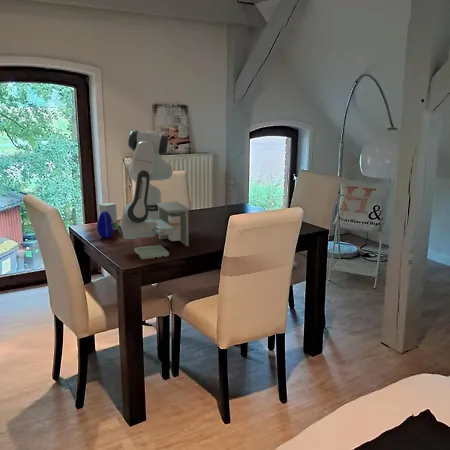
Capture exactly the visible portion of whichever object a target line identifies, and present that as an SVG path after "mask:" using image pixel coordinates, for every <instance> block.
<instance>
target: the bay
mask: <svg viewBox="0 0 450 450" xmlns="http://www.w3.org/2000/svg"><path fill="white" fill-rule="evenodd" d="M157 206H158V217H159V219H161V220H163V221H164V222H168V215H172V212H174V213H176V214H177V215H179V216H180V234H181V240H178V241H179V243H181V244H183V245H184V246H185V247H189V245H190V244H189V237H190V236H189V212H190V208H189V207H188V206H186V205H184V204H181V203H180V202H179V201H169V202H166V201H165V202H161V203H157ZM158 239H159V240H167V239H168V240H169V238H168V235H159V234H158Z"/></svg>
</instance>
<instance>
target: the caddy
mask: <svg viewBox="0 0 450 450" xmlns="http://www.w3.org/2000/svg"><path fill="white" fill-rule="evenodd" d="M168 224H169V225H170V226H174V225H177V226H178V229H175V230H173V234H171V235H168V240H169V241H171V242H176V241H179V240H181V234H180V216H179V215H177V214H176V213H174V212H172V215H168Z"/></svg>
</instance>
